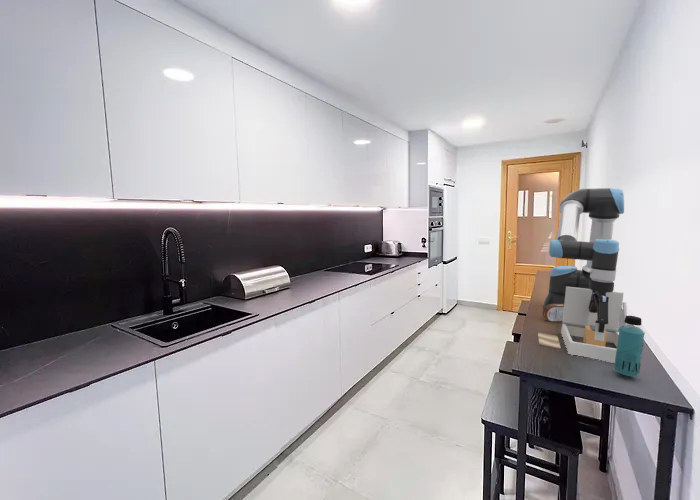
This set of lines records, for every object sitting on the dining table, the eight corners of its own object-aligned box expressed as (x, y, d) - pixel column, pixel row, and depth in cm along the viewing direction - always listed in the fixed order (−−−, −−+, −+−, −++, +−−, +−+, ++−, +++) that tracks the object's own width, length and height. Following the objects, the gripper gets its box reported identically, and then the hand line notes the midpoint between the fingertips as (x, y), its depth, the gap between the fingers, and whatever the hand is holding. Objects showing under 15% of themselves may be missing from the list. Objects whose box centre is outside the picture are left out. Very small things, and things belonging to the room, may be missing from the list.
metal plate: (537, 333, 142) (537, 332, 142) (557, 336, 139) (557, 335, 139) (539, 345, 129) (539, 344, 129) (560, 349, 126) (561, 348, 126)
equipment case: (561, 333, 142) (566, 286, 139) (620, 343, 133) (627, 292, 130) (568, 354, 121) (574, 299, 119) (639, 367, 112) (648, 308, 109)
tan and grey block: (582, 344, 131) (585, 324, 130) (601, 347, 128) (604, 326, 127) (585, 349, 126) (587, 328, 125) (604, 352, 124) (607, 331, 123)
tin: (569, 319, 160) (571, 303, 159) (574, 322, 157) (576, 305, 156) (541, 320, 159) (542, 303, 157) (545, 322, 155) (547, 305, 154)
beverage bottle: (617, 378, 105) (625, 318, 102) (609, 369, 111) (616, 312, 108) (642, 383, 102) (651, 321, 100) (633, 373, 108) (641, 315, 106)
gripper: (583, 273, 136) (578, 322, 139) (596, 285, 114) (589, 343, 117) (606, 275, 133) (599, 325, 136) (623, 288, 111) (616, 347, 114)
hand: (595, 334), depth 126 cm, fingers open, 13 cm apart
